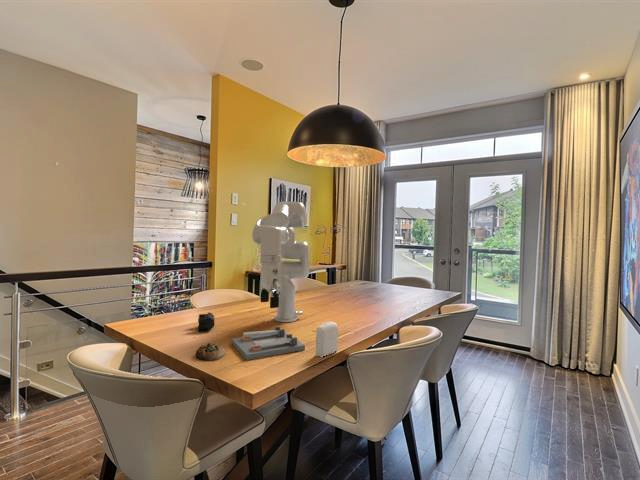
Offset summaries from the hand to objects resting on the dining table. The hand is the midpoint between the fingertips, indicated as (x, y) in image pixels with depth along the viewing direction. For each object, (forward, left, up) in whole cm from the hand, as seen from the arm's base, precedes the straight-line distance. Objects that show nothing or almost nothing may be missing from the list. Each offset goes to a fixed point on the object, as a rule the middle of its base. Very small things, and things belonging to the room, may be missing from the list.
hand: (269, 304), depth 126 cm
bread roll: (+19, -11, -20) cm, 29 cm away
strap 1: (-4, -16, -17) cm, 24 cm away
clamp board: (-4, -10, -20) cm, 23 cm away
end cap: (+13, -45, -20) cm, 51 cm away
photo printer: (-22, +7, -20) cm, 30 cm away
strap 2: (-4, -4, -17) cm, 18 cm away
